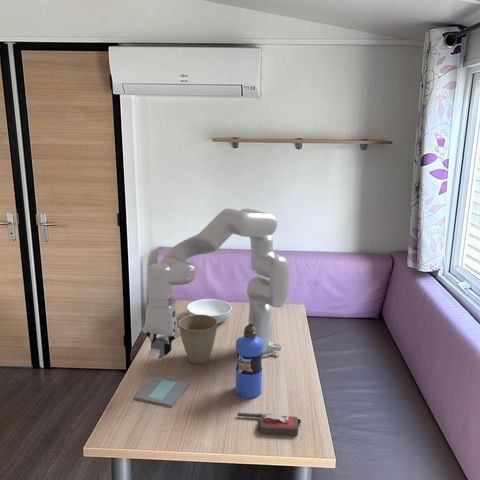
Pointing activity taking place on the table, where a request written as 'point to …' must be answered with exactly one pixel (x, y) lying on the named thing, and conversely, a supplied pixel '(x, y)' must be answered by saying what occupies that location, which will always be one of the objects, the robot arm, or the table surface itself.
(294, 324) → the table surface
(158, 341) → the usb plug
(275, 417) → the walkie-talkie
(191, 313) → the serving bowl
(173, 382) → the dock pad
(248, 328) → the water bottle
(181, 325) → the plant pot
